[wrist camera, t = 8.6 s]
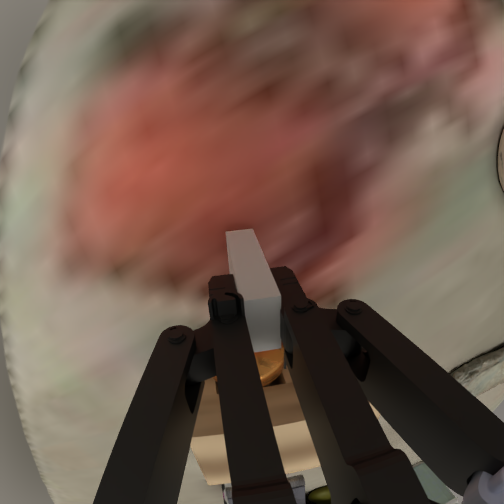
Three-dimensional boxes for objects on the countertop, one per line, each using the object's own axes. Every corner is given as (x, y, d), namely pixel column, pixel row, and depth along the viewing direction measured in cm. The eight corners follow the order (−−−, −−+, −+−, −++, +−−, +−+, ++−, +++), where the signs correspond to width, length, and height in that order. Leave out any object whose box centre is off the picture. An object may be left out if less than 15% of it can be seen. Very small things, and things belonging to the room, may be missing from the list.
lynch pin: (202, 327, 22) (206, 382, 17) (275, 317, 23) (294, 369, 18) (223, 426, 28) (229, 471, 23) (275, 418, 28) (287, 461, 24)
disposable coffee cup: (382, 481, 48) (407, 535, 35) (424, 453, 46) (454, 508, 32) (403, 480, 52) (426, 527, 39) (440, 454, 50) (467, 502, 37)
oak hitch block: (184, 346, 22) (186, 437, 15) (342, 321, 24) (387, 397, 17) (201, 408, 26) (208, 485, 19) (331, 386, 28) (361, 453, 21)
